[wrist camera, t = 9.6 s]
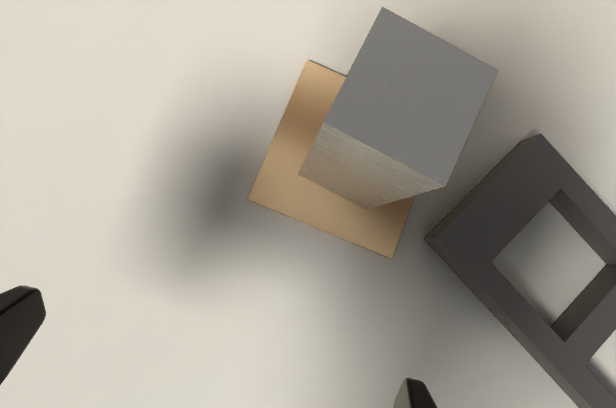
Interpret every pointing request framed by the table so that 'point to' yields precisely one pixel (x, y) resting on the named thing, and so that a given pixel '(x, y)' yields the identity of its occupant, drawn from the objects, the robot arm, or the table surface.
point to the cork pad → (308, 195)
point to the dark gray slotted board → (504, 227)
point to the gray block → (398, 116)
